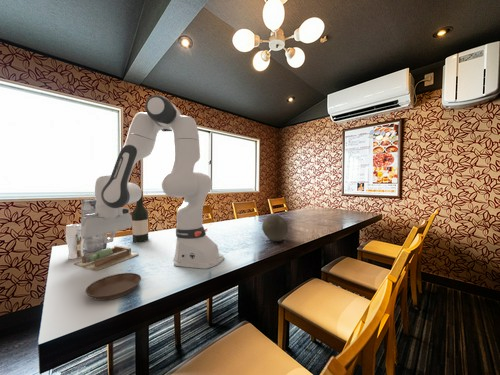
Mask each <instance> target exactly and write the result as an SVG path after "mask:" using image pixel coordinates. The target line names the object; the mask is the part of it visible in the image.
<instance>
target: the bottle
mask: <svg viewBox="0 0 500 375" xmlns="http://www.w3.org/2000/svg"><path fill="white" fill-rule="evenodd" d="M111 248H112V247H106V249H103V250H98V251H94V253H95V254H94V255H91V256H88V257H86V262H87V263H89V262H92V261H94V260H96V259H99V258H103V257H106V256H109V255H112V254H113V251H112V249H111Z"/></svg>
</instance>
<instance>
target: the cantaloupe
mask: <svg viewBox="0 0 500 375" xmlns="http://www.w3.org/2000/svg"><path fill="white" fill-rule="evenodd" d="M261 224H262V226H261V228H262V232H263V234H264V235H265V237H266V238H268V239H269V240H270V241H272V242H281V241H283V240H284V239H285V238H286V237H287V235H288V232H289V230H288V223H287V222H286V220H285V219H284V218H283V217H282V216H280V215H277V214H274V215H269V216H267V217H266V218H265V219H264V220H263V222H262V223H261Z"/></svg>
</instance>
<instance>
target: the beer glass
mask: <svg viewBox="0 0 500 375" xmlns="http://www.w3.org/2000/svg"><path fill="white" fill-rule="evenodd" d="M80 231H81V223H74V224H67V225H66V226H65V241H66V244H67V248H68V255H67V259H68V260H77V259H78V260H79V259H82V257H83V256H86V254H85V249H84V242H85V237H82V236H81V235H80Z"/></svg>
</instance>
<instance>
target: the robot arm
mask: <svg viewBox="0 0 500 375" xmlns="http://www.w3.org/2000/svg"><path fill="white" fill-rule="evenodd" d="M144 108H145V112H143V111H139V112H137V113H135V115H134V116H133V119H132V120H131V124H130V126H129V129H128V132H127V136H126V139H125V142H124V144H123V147H122V148H121V149H120V151H119V154H118V156H117V158H116V161H115V164H114V167H113V170H112V172H111V173H110V174H111V175H109V174H108V175H102V176H99V177H98V178H97V179H96V180H95V185H94V196H95V197H96V205H95V207H96V213H95V214H88V215H85V216H83V217H82V216H81V218H80V224H81V231H80V235H81V236H82V237H85V238H88V237H92V236H97V235H101V236H102V237H103V239H104V243H107V244H109V243H113V242H114V238H115V235H116V234H117V232H118V231H122V230H126V229H130V228H132V214H131V208H127V207H124V206H128V205H131V204H134V203H137V201H139V200H140V198H141V196H142V191H143V190H142V188H141V187H140V185H138V184H137V183H134V182H130V177H131V175H132V172H133V169H134V167H135V165H136V163H137V162H139V161H140V160H143V159H144V158H148V157H149V156H150V155H151V154H152V153H153V150H154V147H155V143H156V141H157V140H156V139H157V135H158V133H159V131H161V132H172V136H173V137H172V140H173V161H172V166H171V168H170V170H169V171H168V172H167V173H166V174H165V175H164V177H163V178H162V180H161V188H162V191H163V193H164V194H165V195H166V196H168V197H171V198H184V199H183V202H182V204H181V205H180V206H179V207H178V208H177V209H176V227H175V236H176V243H175V252H174V253H175V254H174V256H173V266H176V267H183V268H184V267H186V268H194V269H202V270H203V269H204V270H205V269H207V270H208V269H210V268H212V267H215V266H217V265H220V263H221V262H223V260H224V259H225V255H224V254H221V253H220V251H219V247H218V245H217V243H215V241H213V240H212V239H211V238H210V237H208V235H206V234H207V233H206V232H207V231H208V228H206V229H205V227H204V225H203V210H204V204H205V201H206V198H207V195H208V194H209V192H210V191H211V190H212V187H213V182H212V178H211V177H210V176H209V175H207V174H205V173H202V172H194V170H195V169H194V168H195V165H196V164H197V162H198V161H199V160H200V158H201V153H200V152H201V151H200V137H199V130H198V125H197V122H196V120H195V119H194V118H193V117H192V116H189V115H183V114H182V113H181V112H180V110H179V109H178V108H177V107H176V105H175V104H174V103H173V102H171V101H170V100H169V99H168V98H167V97H165V96H163V95H159V94H154V95H151V96H150V97H148V98H147V100H146V102H145V104H144ZM95 197H94V198H95ZM84 217H85V218H84ZM108 234H110V236H109V237H108ZM106 236H107V237H106Z"/></svg>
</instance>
